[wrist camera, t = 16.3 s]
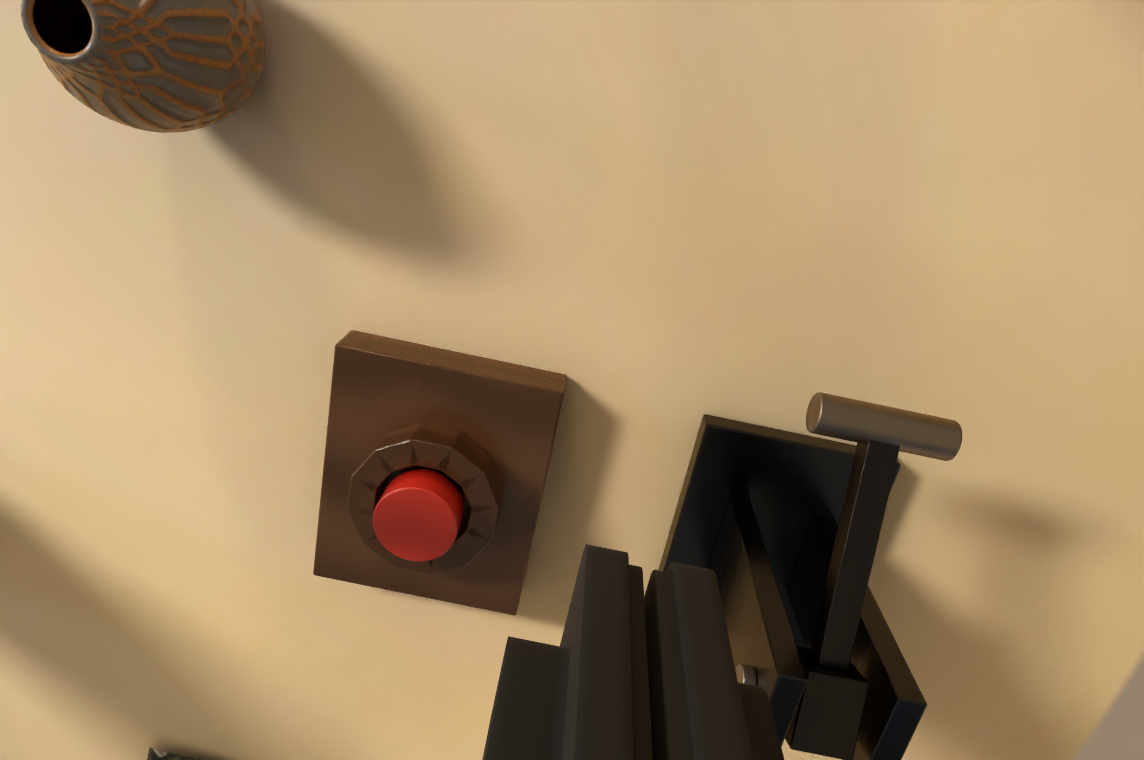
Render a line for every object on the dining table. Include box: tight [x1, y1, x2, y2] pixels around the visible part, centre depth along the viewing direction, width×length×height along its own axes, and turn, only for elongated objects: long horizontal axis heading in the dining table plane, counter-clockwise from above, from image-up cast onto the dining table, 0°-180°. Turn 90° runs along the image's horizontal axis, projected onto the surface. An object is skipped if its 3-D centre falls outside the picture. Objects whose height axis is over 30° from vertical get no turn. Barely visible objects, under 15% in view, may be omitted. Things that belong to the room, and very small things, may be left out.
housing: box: [313, 330, 567, 615], centre depth 36 cm, size 12×10×4 cm
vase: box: [21, 0, 265, 132], centre depth 27 cm, size 7×7×9 cm
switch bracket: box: [658, 414, 927, 760], centre depth 32 cm, size 11×9×13 cm
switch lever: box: [785, 392, 962, 760], centre depth 28 cm, size 12×5×2 cm, turn 169°
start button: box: [373, 469, 465, 562], centre depth 34 cm, size 4×4×2 cm
